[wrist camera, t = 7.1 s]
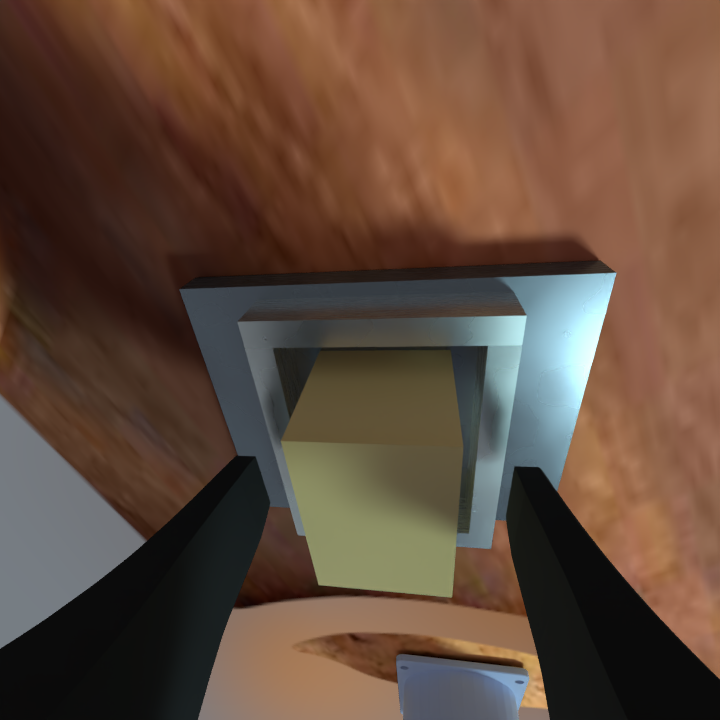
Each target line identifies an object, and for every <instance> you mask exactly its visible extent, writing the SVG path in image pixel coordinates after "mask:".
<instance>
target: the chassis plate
mask: <svg viewBox="0 0 720 720" xmlns="http://www.w3.org/2000/svg"><path fill="white" fill-rule="evenodd" d="M615 276H616V272H615V271H613V270H612V269H611V268H609V267H608V266H607V265H606V264H604V263H603V262H602V261H578V262H554V263H531V264H507V265H483V266H460V267H436V268H412V269H389V270H365V271H341V272H318V273H294V274H270V275H247V276H223V277H199V278H194V279H193V280H192V281H190V282H189V283H187V284H186V285H184V286H183V287H182V288H180V289H179V290H180V293H181V296H182V299H183V301H184V304H185V307H186V310H187V313H188V315H189V318H190V321H191V324H192V327H193V330H194V332H195V335H196V338H197V341H198V344H199V347H200V349H201V352H202V355H203V358H204V361H205V363H206V366H207V369H208V372H209V375H210V378H211V380H212V383H213V386H214V389H215V392H216V394H217V397H218V400H219V403H220V406H221V409H222V411H223V414H224V417H225V420H226V423H227V426H228V428H229V431H230V434H231V437H232V440H233V442H234V445H235V448H236V451H237V454H238V456H256V459H257V462H258V465H259V468H260V471H261V474H262V477H263V481H264V484H265V487H266V490H267V493H268V496H269V499H270V506H272V507H289V508H290V509H291V513H292V516H293V520H294V523H295V527H296V530H297V534H298V535H304V536H306V535H305V531H304V527H303V524H302V520H301V516H300V512H299V508H298V505H297V501H296V497H295V493H294V489H293V486H292V482H291V478H290V474H289V471H288V467H287V463H286V459H285V455H284V452H283V448H282V444H281V439H282V437H283V435H284V432H285V430H286V428H287V426H288V423H289V421H290V419H291V416H292V414H293V412H294V409H295V407H296V405H297V403H298V400H299V398H300V396H301V393H302V391H303V389H304V386H305V384H306V382H307V379H308V377H309V375H310V373H311V370H312V368H313V366H314V363H315V361H316V359H317V356H318V354H319V352H320V351H376V350H451V356H452V364H453V371H454V379H455V386H456V394H457V402H458V409H459V417H460V424H461V432H462V440H463V460H462V473H461V486H460V499H459V513H458V526H457V539H456V546H458V547H472V548H486V549H491V544H492V538H493V531H494V525H495V520H506V511H507V506H508V500H509V494H510V489H511V483H512V477H513V471H514V466H523V467H539V468H541V469H542V470H543V472H544V473H545V475H546V476H547V478H548V479H549V481H550V482H551V484H552V485H553V487H554V488H555V489H556V491H557V490H558V486H559V482H560V479H561V475H562V471H563V468H564V464H565V460H566V457H567V453H568V449H569V446H570V442H571V438H572V434H573V431H574V427H575V423H576V420H577V416H578V412H579V409H580V405H581V401H582V398H583V394H584V390H585V387H586V383H587V379H588V376H589V372H590V368H591V365H592V361H593V357H594V353H595V350H596V346H597V342H598V339H599V335H600V331H601V328H602V324H603V320H604V317H605V313H606V309H607V306H608V302H609V298H610V295H611V291H612V287H613V284H614V280H615Z"/></svg>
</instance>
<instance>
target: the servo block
mask: <svg viewBox="0 0 720 720" xmlns="http://www.w3.org/2000/svg"><path fill="white" fill-rule="evenodd" d="M281 444H282V448H283V452H284V455H285V459H286V463H287V467H288V471H289V474H290V478H291V482H292V486H293V489H294V493H295V497H296V501H297V505H298V508H299V512H300V516H301V520H302V524H303V527H304V531H305V535H306V539H307V542H308V546H309V550H310V554H311V558H312V561H313V565H314V569H315V573H316V577H317V580H318V584H319V585H324V586H335V587H345V588H356V589H367V590H378V591H388V592H399V593H410V594H421V595H432V596H442V597H452V592H453V579H454V565H455V552H456V539H457V526H458V513H459V499H460V486H461V473H462V460H463V440H462V432H461V424H460V417H459V409H458V402H457V394H456V386H455V379H454V371H453V364H452V356H451V350H376V351H320V352H319V354H318V356H317V359H316V361H315V363H314V366H313V368H312V370H311V373H310V375H309V377H308V379H307V382H306V384H305V386H304V389H303V391H302V393H301V396H300V398H299V400H298V403H297V405H296V407H295V409H294V412H293V414H292V416H291V419H290V421H289V423H288V426H287V428H286V430H285V432H284V435H283V437H282V439H281Z"/></svg>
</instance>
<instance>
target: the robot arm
mask: <svg viewBox="0 0 720 720" xmlns="http://www.w3.org/2000/svg"><path fill="white" fill-rule="evenodd" d="M269 506H270V499H269V496H268V493H267V490H266V487H265V484H264V481H263V477H262V474H261V471H260V468H259V465H258V462H257V459H256V456H235V457H234V458H233V459H232V460H231V461H230V462H229V463H228V464H227V465H226V466H225V467H224V468H223V469H222V470H221V471H220V472H219V473H218V474H217V475H216V476H215V477H214V478H213V479H212V480H211V481H210V482H209V483H208V484H207V485H206V486H205V487H204V488H203V489H202V490H201V491H200V492H199V493H198V494H197V495H196V496H195V497H194V498H193V499H192V500H191V501H190V502H189V503H188V504H187V505H186V506H185V507H184V508H183V509H182V510H181V511H179V512H178V513H177V514H176V515H175V516H174V517H173V518H172V519H171V520H170V521H169V522H168V523H167V524H166V525H164V526H163V527H162V528H161V529H160V530H159V531H158V532H157V533H156V534H154V535H153V536H152V537H151V538H150V539H149V540H148V541H147V542H146V543H144V544H143V545H142V546H141V547H140V548H139V549H138V550H136V551H135V552H134V553H133V554H132V555H131V556H129V557H128V558H127V559H126V560H124V562H122V563H121V564H120V565H118V566H117V567H116V568H114V569H113V570H112V571H111V572H109V573H108V574H107V575H106V576H104V577H103V578H102V579H100V580H99V581H98V582H97V583H95V584H94V585H93V586H91V587H90V588H88V589H87V590H86V591H84V592H83V593H82V594H80V595H79V596H77V597H76V598H75V599H73V600H72V601H70V602H69V603H68V604H66V605H65V606H63V607H62V608H61V609H59V610H58V611H56V612H55V613H54V614H52V615H51V616H49V617H48V618H47V619H45V620H44V621H42V622H41V623H39V624H38V625H36V626H35V627H33V628H32V629H30V630H29V631H27V632H26V633H24V634H23V635H21V636H20V637H18V638H16V639H15V640H13V641H12V642H10V643H9V644H7V645H5V646H4V647H2V648H1V649H0V720H198V717H199V713H200V710H201V706H202V703H203V699H204V696H205V692H206V689H207V685H208V681H209V678H210V675H211V671H212V668H213V665H214V662H215V658H216V655H217V652H218V649H219V645H220V642H221V639H222V635H223V633H224V630H225V627H226V625H227V622H228V619H229V616H230V614H231V611H232V609H233V607H234V604H235V602H236V599H237V597H238V594H239V592H240V589H241V587H242V584H243V582H244V579H245V577H246V574H247V572H248V569H249V567H250V564H251V562H252V559H253V557H254V554H255V552H256V549H257V547H258V544H259V541H260V539H261V536H262V532H263V529H264V525H265V522H266V518H267V514H268V510H269ZM506 522H507V529H508V536H509V542H510V548H511V555H512V559H513V563H514V567H515V571H516V575H517V578H518V582H519V586H520V590H521V594H522V597H523V601H524V605H525V609H526V613H527V616H528V620H529V624H530V628H531V632H532V635H533V639H534V643H535V647H536V650H537V655H538V659H539V664H540V668H541V672H542V677H543V683H544V689H545V694H546V700H547V705H548V711H549V717H550V720H720V679H719V678H718V677H717V676H716V675H715V674H714V673H713V672H712V671H711V670H710V669H709V668H708V667H707V666H706V665H705V664H704V663H703V662H702V661H701V660H700V659H699V658H698V657H697V656H696V655H695V654H694V653H693V652H692V651H691V650H690V649H689V648H688V647H687V646H686V645H685V644H684V643H683V642H682V641H681V640H680V639H679V638H678V637H677V636H676V635H675V634H674V633H673V632H672V631H671V630H670V629H669V627H668V626H667V625H666V624H665V623H664V622H663V621H662V620H661V619H660V618H659V617H658V616H657V615H656V614H655V613H654V611H653V610H652V609H651V608H650V607H649V606H648V605H647V604H646V603H645V602H644V600H643V599H642V598H641V597H640V596H639V595H638V594H637V593H636V591H635V590H634V589H633V588H632V587H631V586H630V584H629V583H628V582H627V581H626V580H625V579H624V577H623V576H622V575H621V574H620V573H619V572H618V570H617V569H616V568H615V567H614V566H613V564H612V563H611V562H610V561H609V560H608V558H607V557H606V556H605V555H604V553H603V552H602V551H601V550H600V548H599V547H598V546H597V545H596V543H595V542H594V541H593V539H592V538H591V537H590V536H589V534H588V533H587V532H586V531H585V529H584V528H583V527H582V525H581V524H580V523H579V521H578V520H577V519H576V517H575V516H574V515H573V513H572V512H571V511H570V509H569V508H568V506H567V505H566V504H565V502H564V501H563V499H562V498H561V497H560V495H559V494H558V492H557V491H556V489H555V488H554V487H553V485H552V484H551V482H550V481H549V479H548V478H547V476H546V475H545V473H544V472H543V470H542V469H541V468H539V467H523V466H514V471H513V477H512V483H511V489H510V494H509V500H508V506H507V511H506ZM396 667H397V678H398V689H399V699H400V712H401V713H402V714H403V720H519V717H518V710H519V707H520V704H521V701H522V698H523V695H524V692H525V689H526V687H527V684H528V681H529V675H528V671H527V670H526V669H524V668H519V667H510V666H502V665H493V664H485V663H476V662H468V661H459V660H451V659H442V658H434V657H425V656H417V655H408V654H399V655H397V657H396Z"/></svg>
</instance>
